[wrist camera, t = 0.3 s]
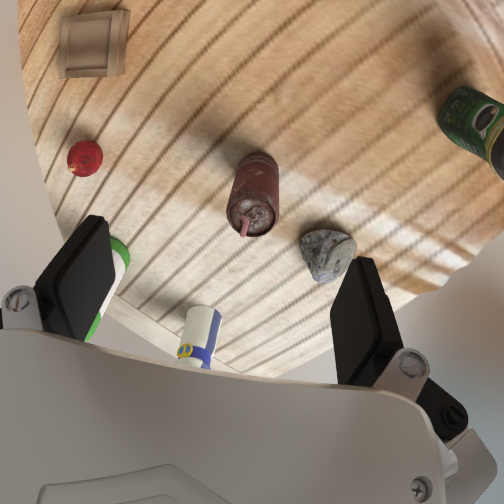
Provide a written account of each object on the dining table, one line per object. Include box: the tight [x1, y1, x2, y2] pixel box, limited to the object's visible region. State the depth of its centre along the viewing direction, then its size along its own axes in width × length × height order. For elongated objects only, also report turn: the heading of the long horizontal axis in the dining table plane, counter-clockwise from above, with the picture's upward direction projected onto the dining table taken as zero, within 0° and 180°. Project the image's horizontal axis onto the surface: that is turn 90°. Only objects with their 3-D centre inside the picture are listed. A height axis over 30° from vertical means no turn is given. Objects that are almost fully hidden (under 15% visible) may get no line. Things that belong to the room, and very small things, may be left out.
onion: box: [67, 140, 103, 177], centre depth 43 cm, size 6×6×8 cm
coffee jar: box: [439, 86, 504, 182], centre depth 30 cm, size 10×8×19 cm
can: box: [226, 153, 279, 237], centre depth 42 cm, size 6×6×14 cm
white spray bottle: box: [175, 305, 222, 370], centre depth 58 cm, size 8×9×25 cm
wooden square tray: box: [59, 10, 131, 79], centre depth 34 cm, size 10×10×3 cm
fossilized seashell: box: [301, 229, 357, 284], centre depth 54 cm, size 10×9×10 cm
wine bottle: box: [84, 238, 130, 342], centre depth 47 cm, size 8×8×30 cm
